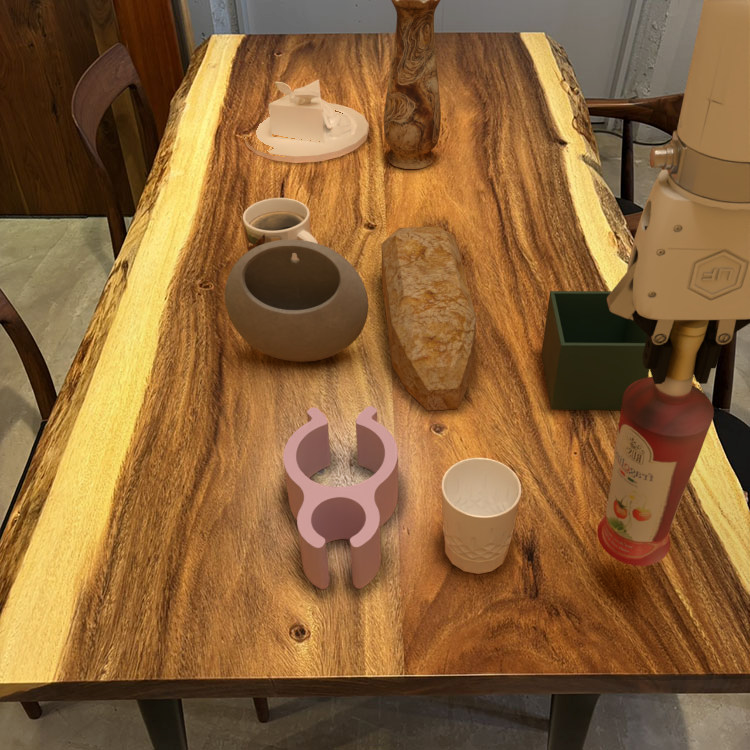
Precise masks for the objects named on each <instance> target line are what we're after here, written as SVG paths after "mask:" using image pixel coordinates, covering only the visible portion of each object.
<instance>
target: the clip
mask: <svg viewBox="0 0 750 750" xmlns="http://www.w3.org/2000/svg"><path fill="white" fill-rule="evenodd" d="M306 411H307V412H306V414H307V422H306V423H304V424H303V425H301V426H300V427H299V428H297V429H296V430H295V431H294V432H293V433H292V435H291V436H290V437H289V438H288V440H287V442H286V444H285V447H284V450H283V456H282V459H283V469H284V476H285V482H286V483H285V484H286V490H287V496H288V497H287V498H288V504H289V509H290V511H291V514H292V515H293V517H294V519H295V520H296V523H297V531H298V540H299V548H300V555H301V563H302V569H303V572H304V574H305V577H306V578H307V580H308V581H309V582H310V583H311V584H312V585H313V586H315V587H316V588H318V589H320V590H326V589H327V588H328V587H329V585H330V574H329V564H328V553H327V544H328V543H331V542H333V541H337V540H349V546H350V547H349V548H350V559H351V560H350V562H351V574H352V577H351V578H352V584H353V586H354V588H355V589H363V588H364V587H367V585H369V584H370V583H371V582H372V581H373V580H374V579H375V577H376V576H377V575H378V572H380V568H381V564H382V554H381V553H382V552H381V549H382V548H381V527H382V526H383V525H384V524H385V523H387V521H389V519H390V518H391V517H392V515H393V514H394V512H395V510H396V508H397V505H398V502H399V501H398V500H399V450H398V445H397V442H396V439H395V438H394V436H393V435H392V433H391V431H389V429H387V428H386V427H385V426H384V425H383V424H381V422H378V408H376V407H375V406H372V405H369V406H366V407H365V408H364V409H363V410H362V411H361V412H359V414H358V415H357V417H356V419H355V433H356V435H355V436H356V437H355V438H356V453H357V454H356V456H357V464H358V466H360V467H363V468H365V469H367V470H369V471H371V472H372V473H374V474H373V475H371V476H370V477H369V478H367V479H365V480H363V481H361V482H358V483H356V484H352V485H347V486H346V485H345V486H331V485H325V484H321V483H318V482H316V481H314V480H312V479H311V478H312V477H313V476H314V475H315V474H316V473H318V472H320V471H321V470H323V469H326V468H328V467H330V466H331V465H332V458H331V457H332V456H331V447H330V446H331V445H330V433H329V432H330V431H329V421H328V419H327V416H326V414H325V413H323V412H322V411H321V410H320V409H319V408H318V407H315V406H314V407H311V408H309V409H307V410H306Z"/></svg>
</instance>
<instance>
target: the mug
mask: <svg viewBox="0 0 750 750" xmlns="http://www.w3.org/2000/svg"><path fill="white" fill-rule="evenodd" d="M242 223H243V232H244V237H245V238H244V239H245V244H246V253H247V252H248V251H250V250H251V249H253V248H255V247H257V246H259V245H262V244H265V243H268V242H273V241H278V240H304V241H309V242H314V243H317V244H319V242H318V240H317V239H316V237H314V235H313V234H312V221H311V212H310V209H309V207H308V206H307V205H306V204H305V203H303V202H301V201H300V200H297V199H294V198H288V197H273V198H266V199H262V200H259V201H256V202H254V203H252V204H250V205H249V206H248V207H247V208H246V209H245V210H244V212H243V214H242ZM292 254H293V255H292V258H291V259H293V260H299V259H298V258H297V254H296V253H292Z"/></svg>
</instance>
